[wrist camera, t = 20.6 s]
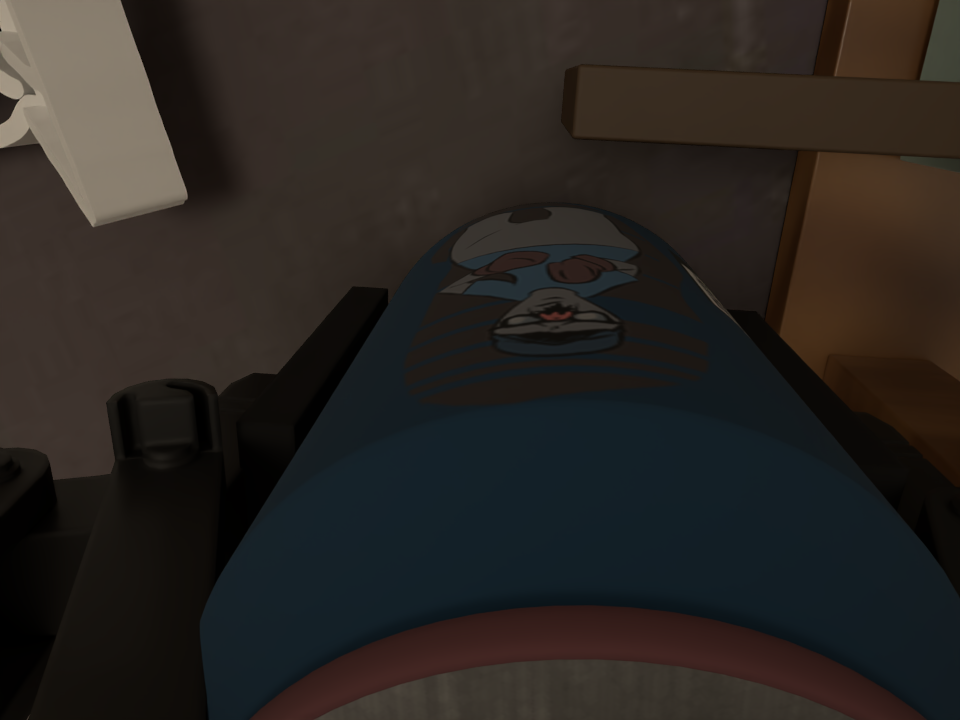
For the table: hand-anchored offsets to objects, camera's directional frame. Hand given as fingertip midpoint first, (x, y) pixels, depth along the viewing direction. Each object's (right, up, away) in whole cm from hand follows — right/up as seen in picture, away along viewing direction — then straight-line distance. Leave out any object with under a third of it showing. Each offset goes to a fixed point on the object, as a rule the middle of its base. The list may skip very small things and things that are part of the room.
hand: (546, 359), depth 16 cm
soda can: (0, 0, +1) cm, 1 cm away
